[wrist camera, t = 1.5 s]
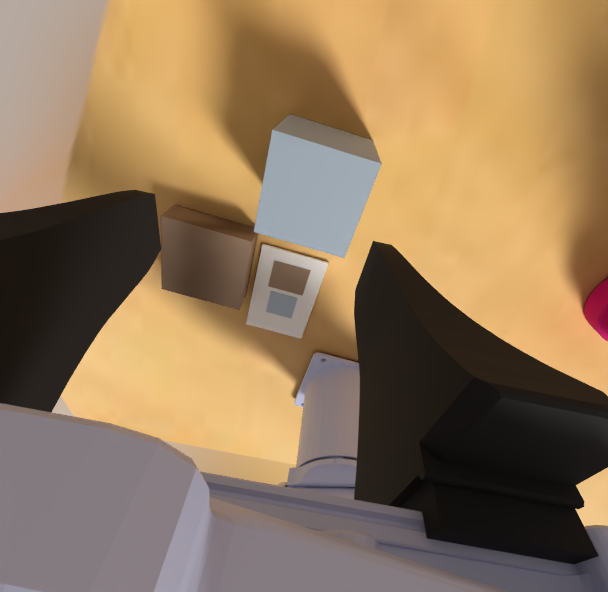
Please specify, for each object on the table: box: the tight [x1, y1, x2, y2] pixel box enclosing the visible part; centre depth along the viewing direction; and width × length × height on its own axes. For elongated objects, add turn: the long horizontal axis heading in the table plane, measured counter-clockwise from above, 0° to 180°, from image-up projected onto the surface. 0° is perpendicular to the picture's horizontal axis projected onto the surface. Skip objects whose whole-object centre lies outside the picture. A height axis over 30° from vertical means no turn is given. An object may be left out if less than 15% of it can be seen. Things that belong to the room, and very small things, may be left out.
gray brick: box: [254, 114, 381, 258], centre depth 18 cm, size 5×5×6 cm
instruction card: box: [246, 244, 329, 339], centre depth 26 cm, size 5×8×1 cm, turn 165°
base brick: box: [161, 205, 258, 310], centre depth 23 cm, size 6×6×2 cm
